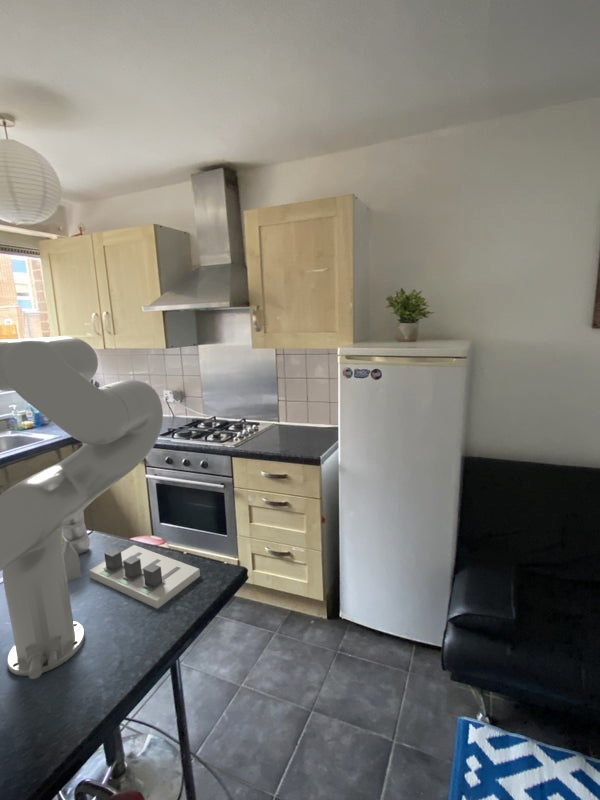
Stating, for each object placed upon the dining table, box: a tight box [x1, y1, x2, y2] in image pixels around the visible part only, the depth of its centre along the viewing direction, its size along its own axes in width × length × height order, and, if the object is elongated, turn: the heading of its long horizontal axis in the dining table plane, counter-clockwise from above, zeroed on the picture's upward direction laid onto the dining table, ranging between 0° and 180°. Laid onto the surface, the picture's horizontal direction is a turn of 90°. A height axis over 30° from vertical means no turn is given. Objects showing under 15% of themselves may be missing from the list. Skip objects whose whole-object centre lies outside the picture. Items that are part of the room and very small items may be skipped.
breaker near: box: [142, 564, 165, 590], centre depth 93 cm, size 4×4×4 cm
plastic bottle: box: [62, 510, 91, 556], centre depth 110 cm, size 6×7×20 cm
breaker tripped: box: [103, 548, 124, 573], centre depth 100 cm, size 4×4×4 cm
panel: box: [89, 544, 201, 610], centre depth 100 cm, size 24×13×2 cm, turn 60°
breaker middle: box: [122, 556, 144, 581], centre depth 96 cm, size 4×4×4 cm
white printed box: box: [62, 533, 82, 583], centre depth 101 cm, size 4×7×10 cm, turn 42°
